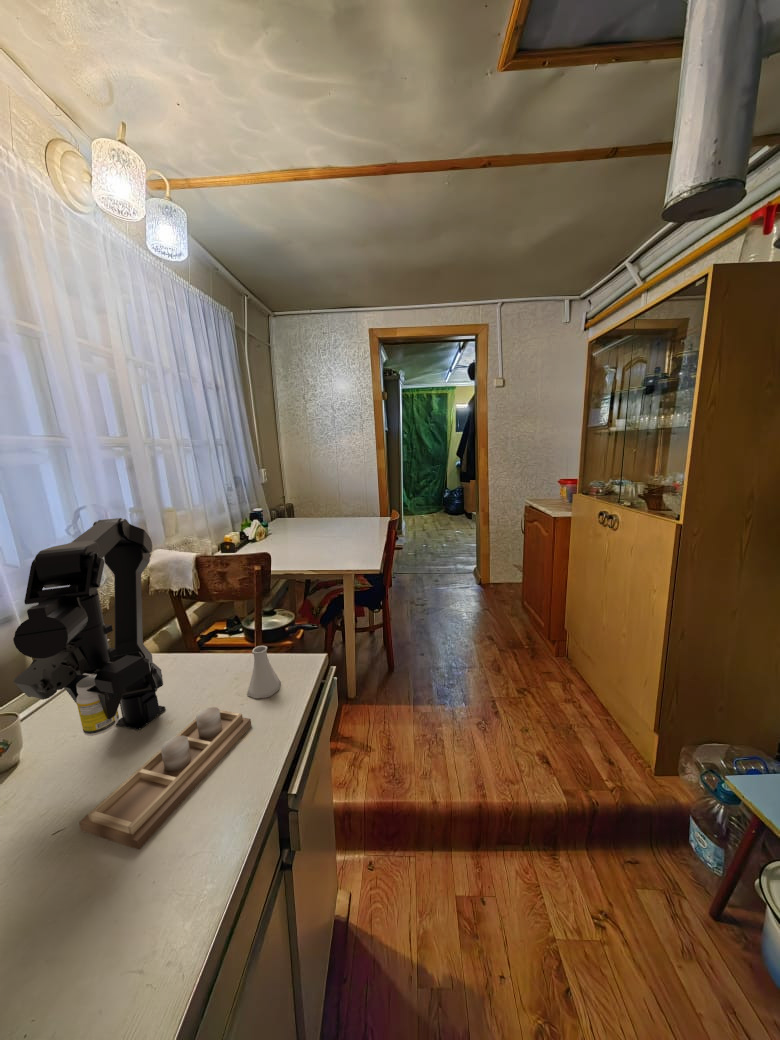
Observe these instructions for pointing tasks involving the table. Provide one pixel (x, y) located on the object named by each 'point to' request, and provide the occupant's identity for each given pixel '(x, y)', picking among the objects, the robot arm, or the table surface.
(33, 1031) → the table surface
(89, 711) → the supplement bottle
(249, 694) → the flask
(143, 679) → the robot arm
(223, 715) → the socket tray
